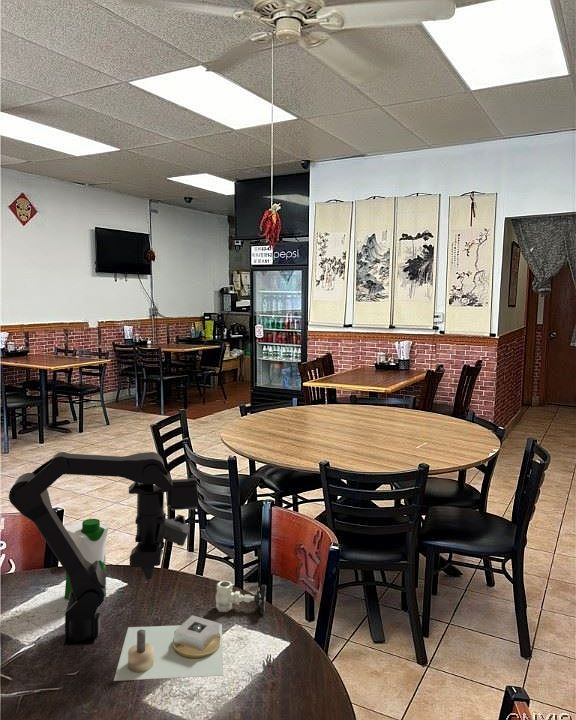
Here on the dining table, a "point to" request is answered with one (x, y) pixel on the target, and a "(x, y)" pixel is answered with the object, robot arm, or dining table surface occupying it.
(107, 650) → the dining table surface
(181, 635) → the square ring
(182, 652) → the bell
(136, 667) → the stand
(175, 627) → the mat
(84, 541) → the milk carton
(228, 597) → the valve
